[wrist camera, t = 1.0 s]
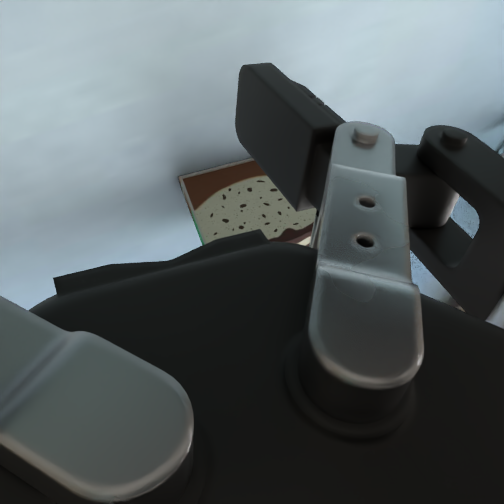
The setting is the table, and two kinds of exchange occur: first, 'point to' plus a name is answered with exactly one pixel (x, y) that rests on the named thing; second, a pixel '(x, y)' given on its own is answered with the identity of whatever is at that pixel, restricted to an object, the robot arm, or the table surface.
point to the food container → (243, 204)
